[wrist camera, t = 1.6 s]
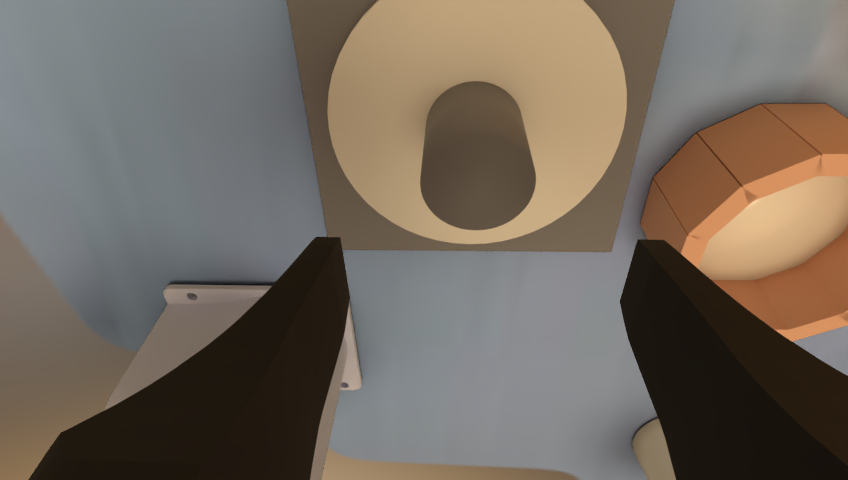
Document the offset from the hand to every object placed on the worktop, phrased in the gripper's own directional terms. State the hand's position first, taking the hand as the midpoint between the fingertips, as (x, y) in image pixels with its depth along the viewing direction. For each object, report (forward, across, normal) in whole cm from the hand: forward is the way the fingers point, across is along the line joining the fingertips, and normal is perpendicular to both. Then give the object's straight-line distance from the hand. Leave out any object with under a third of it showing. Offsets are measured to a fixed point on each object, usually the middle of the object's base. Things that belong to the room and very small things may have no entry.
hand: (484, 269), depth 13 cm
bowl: (+9, -12, +4) cm, 16 cm away
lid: (+9, 0, 0) cm, 9 cm away
